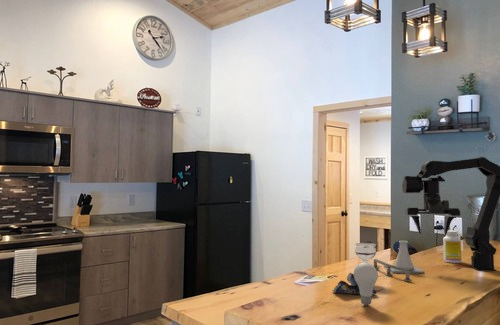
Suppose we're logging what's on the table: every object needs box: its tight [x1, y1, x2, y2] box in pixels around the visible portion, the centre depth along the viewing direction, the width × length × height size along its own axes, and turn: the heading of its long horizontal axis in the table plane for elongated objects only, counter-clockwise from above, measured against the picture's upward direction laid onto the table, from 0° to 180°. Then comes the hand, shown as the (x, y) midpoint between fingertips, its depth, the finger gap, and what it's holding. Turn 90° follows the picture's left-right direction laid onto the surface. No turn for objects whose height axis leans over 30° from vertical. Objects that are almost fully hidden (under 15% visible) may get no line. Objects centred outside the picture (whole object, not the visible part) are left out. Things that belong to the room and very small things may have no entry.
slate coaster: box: [383, 265, 426, 275], centre depth 146 cm, size 11×11×1 cm
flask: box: [394, 240, 415, 270], centre depth 146 cm, size 7×7×10 cm
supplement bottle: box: [442, 229, 463, 264], centre depth 164 cm, size 7×7×13 cm
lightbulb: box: [353, 261, 379, 307], centre depth 102 cm, size 6×6×11 cm
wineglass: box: [354, 242, 377, 263], centre depth 129 cm, size 7×7×12 cm
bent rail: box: [373, 258, 413, 283], centre depth 138 cm, size 4×22×4 cm, turn 14°
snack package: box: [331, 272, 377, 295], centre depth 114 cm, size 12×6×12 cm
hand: (432, 234), depth 151 cm, fingers open, 9 cm apart
